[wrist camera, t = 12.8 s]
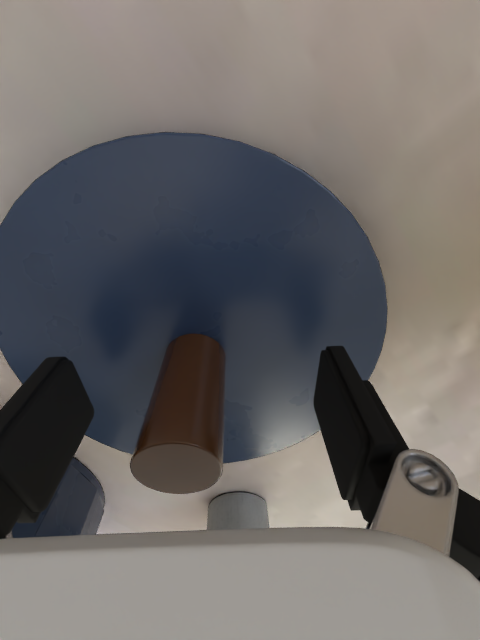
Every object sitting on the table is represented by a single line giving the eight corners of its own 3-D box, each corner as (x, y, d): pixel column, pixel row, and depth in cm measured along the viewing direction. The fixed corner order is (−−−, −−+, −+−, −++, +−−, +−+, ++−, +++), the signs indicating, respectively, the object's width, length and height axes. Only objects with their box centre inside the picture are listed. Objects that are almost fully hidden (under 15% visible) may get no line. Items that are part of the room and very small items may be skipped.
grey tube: (221, 524, 23) (215, 754, 14) (198, 498, 21) (174, 753, 12) (274, 513, 22) (301, 749, 14) (256, 485, 20) (274, 747, 11)
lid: (194, 476, 19) (180, 600, 14) (-65, 322, 12) (-288, 455, 7) (428, 356, 14) (546, 483, 9) (210, -24, 7) (151, -494, 2)
